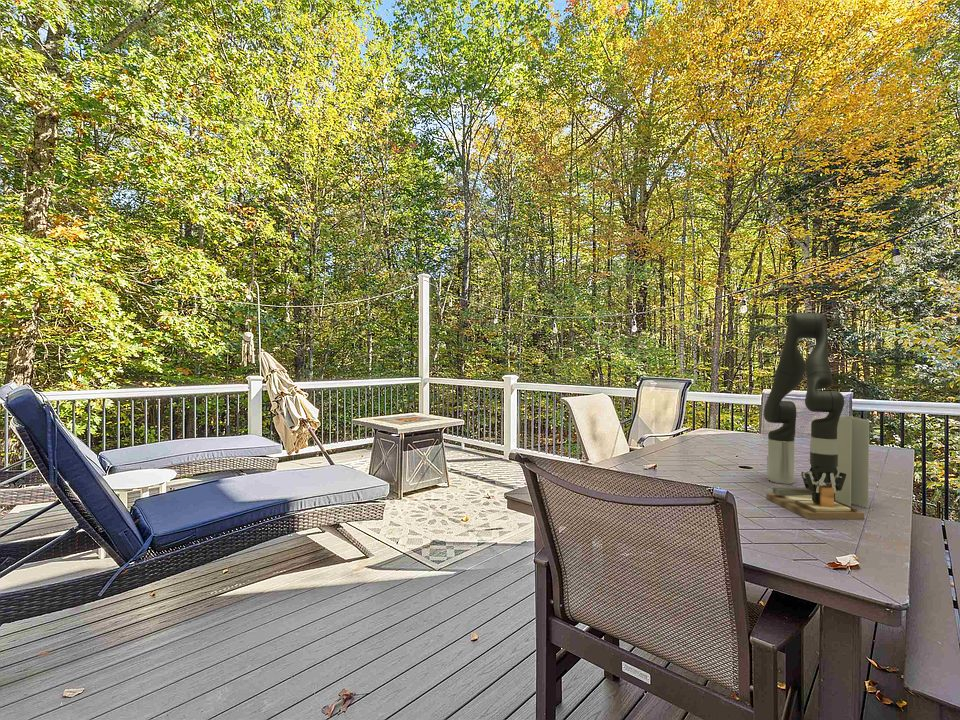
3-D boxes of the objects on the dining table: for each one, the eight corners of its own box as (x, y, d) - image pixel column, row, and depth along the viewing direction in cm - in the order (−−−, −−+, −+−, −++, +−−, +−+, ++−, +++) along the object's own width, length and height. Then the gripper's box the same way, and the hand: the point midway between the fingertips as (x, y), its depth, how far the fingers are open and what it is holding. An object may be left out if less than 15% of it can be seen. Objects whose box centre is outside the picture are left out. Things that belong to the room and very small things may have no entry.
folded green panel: (868, 508, 164) (869, 420, 164) (850, 507, 165) (851, 420, 165) (845, 496, 178) (846, 415, 178) (829, 495, 179) (829, 415, 179)
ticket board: (766, 498, 175) (766, 485, 175) (815, 498, 176) (815, 485, 176) (808, 519, 153) (808, 504, 153) (864, 519, 154) (864, 504, 154)
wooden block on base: (797, 503, 163) (797, 483, 163) (832, 503, 163) (832, 483, 163) (814, 511, 155) (814, 490, 155) (850, 510, 155) (851, 489, 155)
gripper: (836, 449, 163) (836, 499, 163) (794, 449, 163) (794, 499, 163) (854, 453, 155) (853, 506, 156) (810, 453, 155) (810, 507, 155)
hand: (823, 503), depth 159 cm, fingers closed on wooden block on base, 4 cm apart
